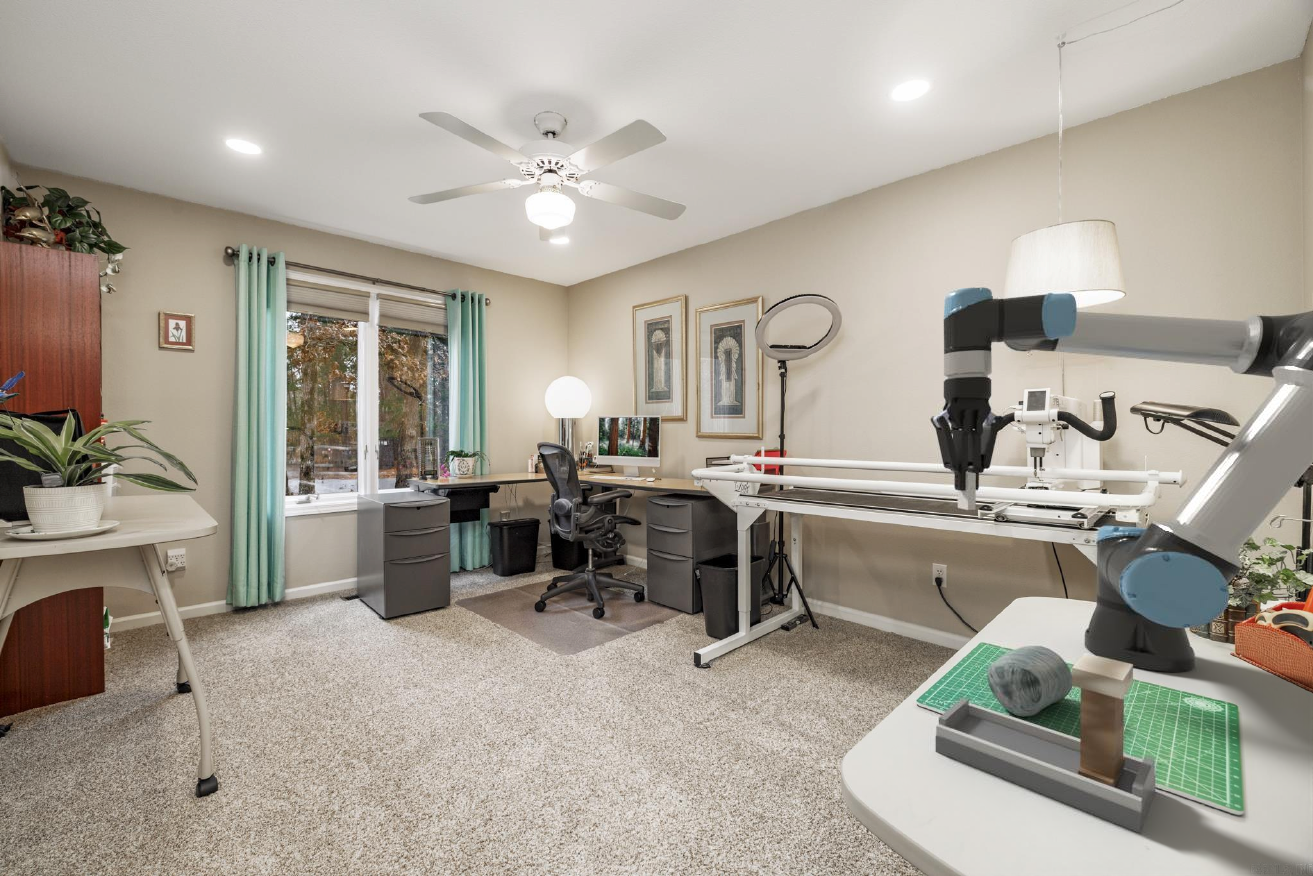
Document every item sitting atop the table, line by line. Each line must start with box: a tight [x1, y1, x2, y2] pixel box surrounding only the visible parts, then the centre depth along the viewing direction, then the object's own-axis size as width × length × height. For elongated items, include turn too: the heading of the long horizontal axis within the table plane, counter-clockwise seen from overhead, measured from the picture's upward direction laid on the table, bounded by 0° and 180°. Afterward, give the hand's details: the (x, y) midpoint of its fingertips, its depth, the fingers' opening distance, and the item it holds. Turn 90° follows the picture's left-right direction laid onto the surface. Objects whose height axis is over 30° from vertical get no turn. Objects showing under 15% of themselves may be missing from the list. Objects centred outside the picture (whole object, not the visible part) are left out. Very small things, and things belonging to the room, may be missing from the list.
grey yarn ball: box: [986, 645, 1073, 717], centre depth 85 cm, size 14×10×10 cm
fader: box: [1071, 652, 1134, 788], centre depth 64 cm, size 4×7×12 cm, turn 132°
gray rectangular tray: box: [935, 696, 1156, 834], centre depth 69 cm, size 20×10×4 cm, turn 42°
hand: (966, 508), depth 103 cm, fingers closed
